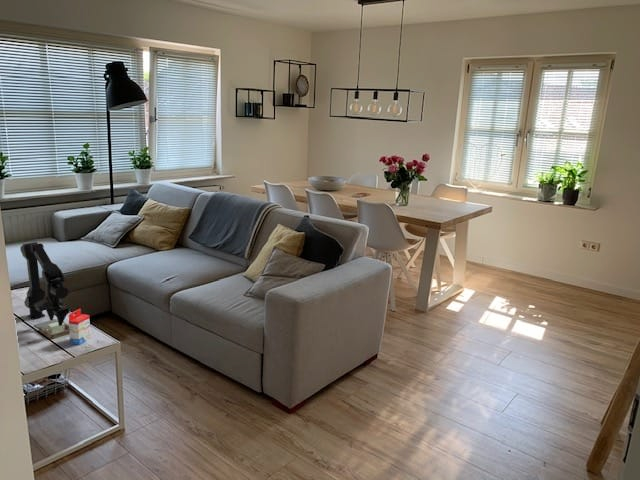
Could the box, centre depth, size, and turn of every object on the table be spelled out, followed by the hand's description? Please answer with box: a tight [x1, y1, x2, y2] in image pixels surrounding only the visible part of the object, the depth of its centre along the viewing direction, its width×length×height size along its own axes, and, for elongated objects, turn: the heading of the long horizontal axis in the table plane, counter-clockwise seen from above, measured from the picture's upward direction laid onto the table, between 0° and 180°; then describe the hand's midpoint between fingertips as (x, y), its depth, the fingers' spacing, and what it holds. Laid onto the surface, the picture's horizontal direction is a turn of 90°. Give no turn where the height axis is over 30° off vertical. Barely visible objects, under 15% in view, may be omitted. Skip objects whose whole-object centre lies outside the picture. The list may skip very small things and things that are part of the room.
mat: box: [34, 318, 58, 330], centre depth 247 cm, size 8×10×1 cm
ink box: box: [68, 308, 91, 346], centre depth 231 cm, size 8×5×15 cm, turn 168°
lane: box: [38, 321, 70, 340], centre depth 240 cm, size 13×11×2 cm
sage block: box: [47, 322, 66, 334], centre depth 241 cm, size 4×6×4 cm, turn 142°
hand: (55, 322), depth 240 cm, fingers open, 9 cm apart
